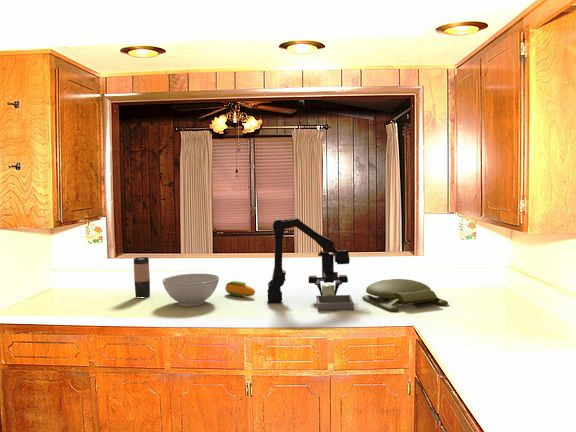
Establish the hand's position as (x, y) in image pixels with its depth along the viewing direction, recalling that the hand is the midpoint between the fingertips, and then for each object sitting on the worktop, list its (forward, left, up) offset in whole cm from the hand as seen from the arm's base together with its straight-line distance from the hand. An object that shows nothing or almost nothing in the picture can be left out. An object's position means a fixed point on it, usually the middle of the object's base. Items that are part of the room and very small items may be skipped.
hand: (328, 296), depth 279 cm
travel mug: (-94, +15, -2) cm, 95 cm away
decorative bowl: (-66, -1, -2) cm, 66 cm away
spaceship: (+34, -5, -2) cm, 34 cm away
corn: (-43, +13, -2) cm, 45 cm away
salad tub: (0, 0, -2) cm, 2 cm away
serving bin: (+2, -14, -2) cm, 14 cm away
